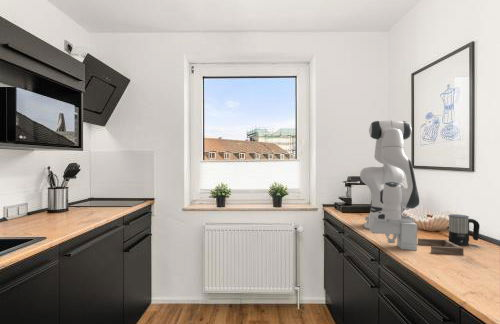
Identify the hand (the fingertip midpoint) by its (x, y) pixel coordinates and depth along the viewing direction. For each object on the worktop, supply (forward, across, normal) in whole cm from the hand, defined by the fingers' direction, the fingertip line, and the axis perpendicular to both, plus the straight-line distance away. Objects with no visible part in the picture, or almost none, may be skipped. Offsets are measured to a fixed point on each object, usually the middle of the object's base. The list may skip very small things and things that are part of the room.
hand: (391, 242), depth 155 cm
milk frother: (+2, -40, -17) cm, 44 cm away
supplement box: (+2, -8, 0) cm, 8 cm away
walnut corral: (+2, -23, 0) cm, 23 cm away
